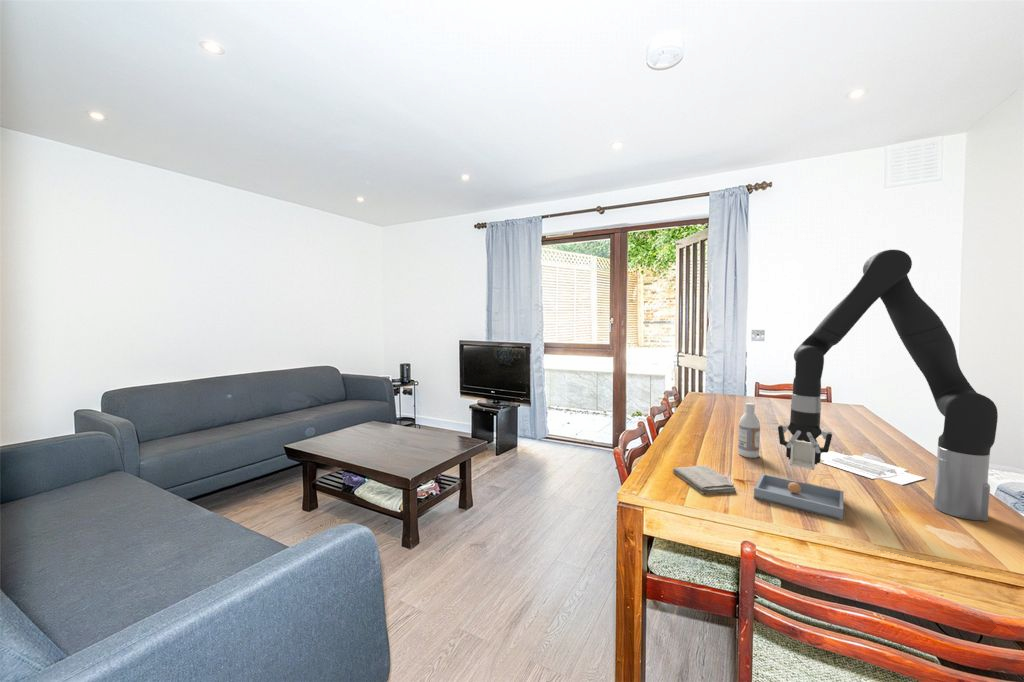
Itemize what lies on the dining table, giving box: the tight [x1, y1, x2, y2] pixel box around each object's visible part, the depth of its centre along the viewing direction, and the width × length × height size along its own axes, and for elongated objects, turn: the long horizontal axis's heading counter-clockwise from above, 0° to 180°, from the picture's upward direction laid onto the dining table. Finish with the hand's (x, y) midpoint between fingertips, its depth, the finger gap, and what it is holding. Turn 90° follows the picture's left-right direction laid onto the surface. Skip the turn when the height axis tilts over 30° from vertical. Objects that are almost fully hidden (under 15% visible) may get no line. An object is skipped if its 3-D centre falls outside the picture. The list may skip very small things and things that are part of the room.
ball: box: [788, 482, 801, 494], centre depth 118 cm, size 3×3×3 cm
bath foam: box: [737, 402, 761, 459], centre depth 151 cm, size 7×7×20 cm
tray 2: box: [819, 450, 927, 486], centre depth 139 cm, size 20×28×4 cm
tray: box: [753, 473, 845, 522], centre depth 115 cm, size 20×14×3 cm
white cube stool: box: [789, 440, 816, 471], centre depth 125 cm, size 6×6×6 cm
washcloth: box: [672, 464, 737, 495], centre depth 127 cm, size 12×18×3 cm, turn 8°
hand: (802, 461), depth 125 cm, fingers closed on white cube stool, 6 cm apart
